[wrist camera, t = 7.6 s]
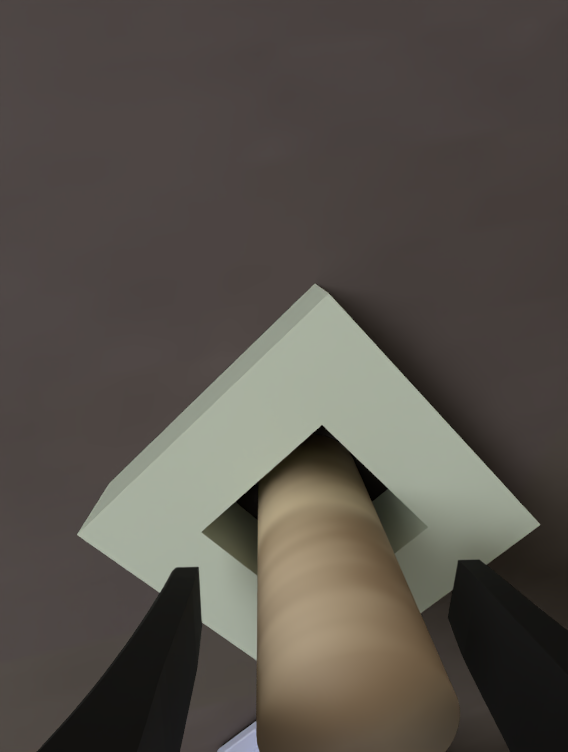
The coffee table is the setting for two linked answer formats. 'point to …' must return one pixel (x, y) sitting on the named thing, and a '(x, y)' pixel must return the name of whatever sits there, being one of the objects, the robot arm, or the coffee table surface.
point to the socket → (277, 440)
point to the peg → (339, 620)
